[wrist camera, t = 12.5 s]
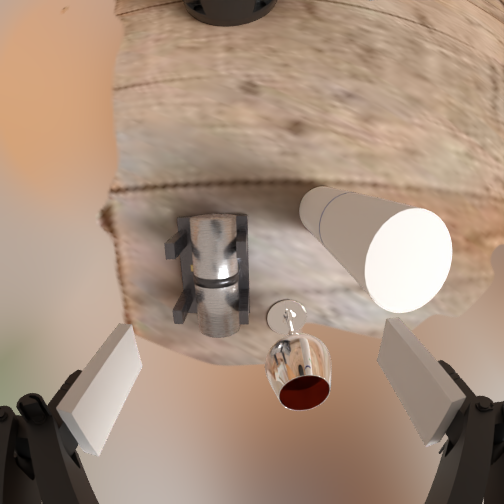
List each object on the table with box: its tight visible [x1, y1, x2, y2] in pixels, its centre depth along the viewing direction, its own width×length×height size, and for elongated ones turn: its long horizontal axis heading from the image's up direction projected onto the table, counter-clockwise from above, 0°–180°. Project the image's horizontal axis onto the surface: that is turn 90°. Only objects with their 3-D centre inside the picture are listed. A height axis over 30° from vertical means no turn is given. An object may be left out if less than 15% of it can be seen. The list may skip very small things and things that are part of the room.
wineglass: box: [265, 300, 331, 411], centre depth 36 cm, size 8×8×18 cm
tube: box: [190, 214, 240, 338], centre depth 38 cm, size 16×6×6 cm, turn 1°
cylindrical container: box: [299, 186, 452, 313], centre depth 28 cm, size 7×7×25 cm
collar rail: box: [164, 215, 250, 324], centre depth 39 cm, size 15×10×8 cm, turn 1°
